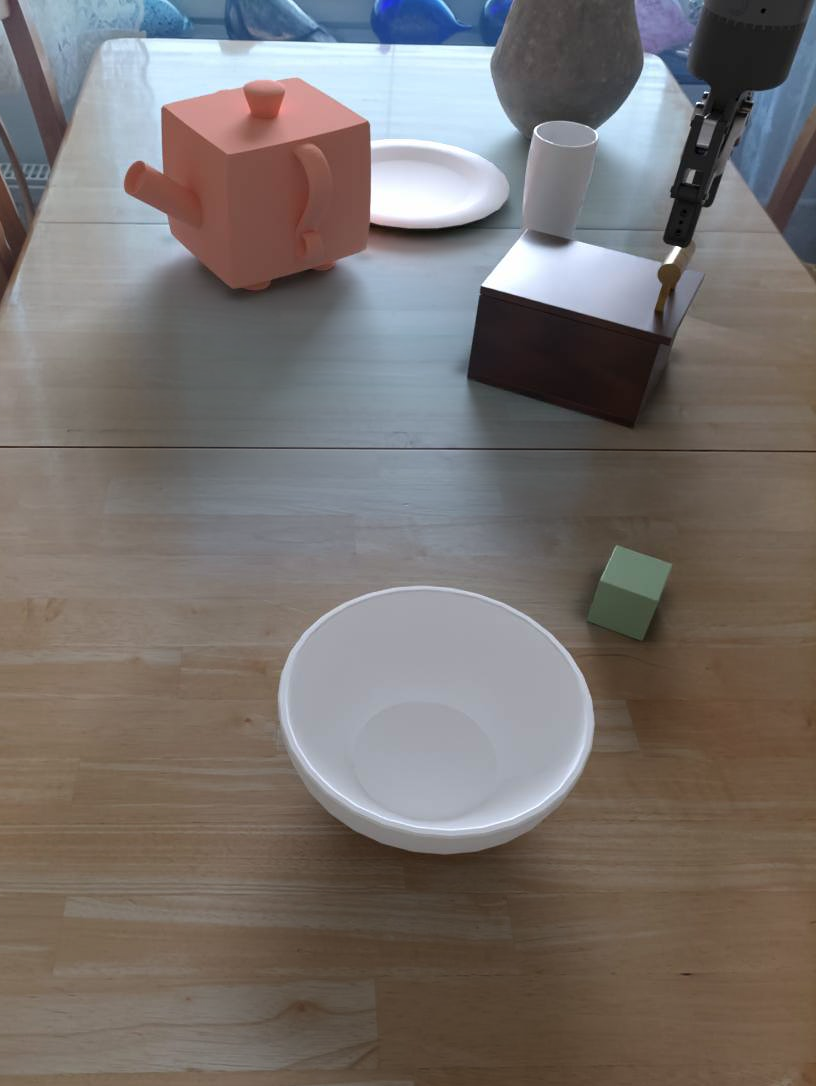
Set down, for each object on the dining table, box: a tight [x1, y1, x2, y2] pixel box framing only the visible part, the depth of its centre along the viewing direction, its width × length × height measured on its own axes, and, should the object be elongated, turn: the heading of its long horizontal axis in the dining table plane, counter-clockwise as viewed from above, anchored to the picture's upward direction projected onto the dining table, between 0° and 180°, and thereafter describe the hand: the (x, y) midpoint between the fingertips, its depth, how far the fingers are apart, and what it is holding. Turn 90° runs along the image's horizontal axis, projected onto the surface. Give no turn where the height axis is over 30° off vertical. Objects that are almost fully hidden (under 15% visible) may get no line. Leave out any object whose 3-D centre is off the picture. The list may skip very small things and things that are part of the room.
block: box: [586, 545, 674, 642], centre depth 73 cm, size 4×4×4 cm
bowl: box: [277, 585, 596, 855], centre depth 63 cm, size 20×20×7 cm
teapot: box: [123, 77, 372, 291], centre depth 102 cm, size 25×23×18 cm
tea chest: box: [466, 293, 678, 429], centre depth 93 cm, size 17×13×9 cm
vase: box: [489, 0, 645, 141], centre depth 126 cm, size 20×19×25 cm
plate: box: [370, 138, 511, 231], centre depth 121 cm, size 25×25×2 cm
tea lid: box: [479, 229, 706, 346], centre depth 88 cm, size 18×13×5 cm
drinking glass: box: [519, 121, 600, 240], centre depth 104 cm, size 7×7×15 cm
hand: (687, 223), depth 82 cm, fingers open, 8 cm apart
